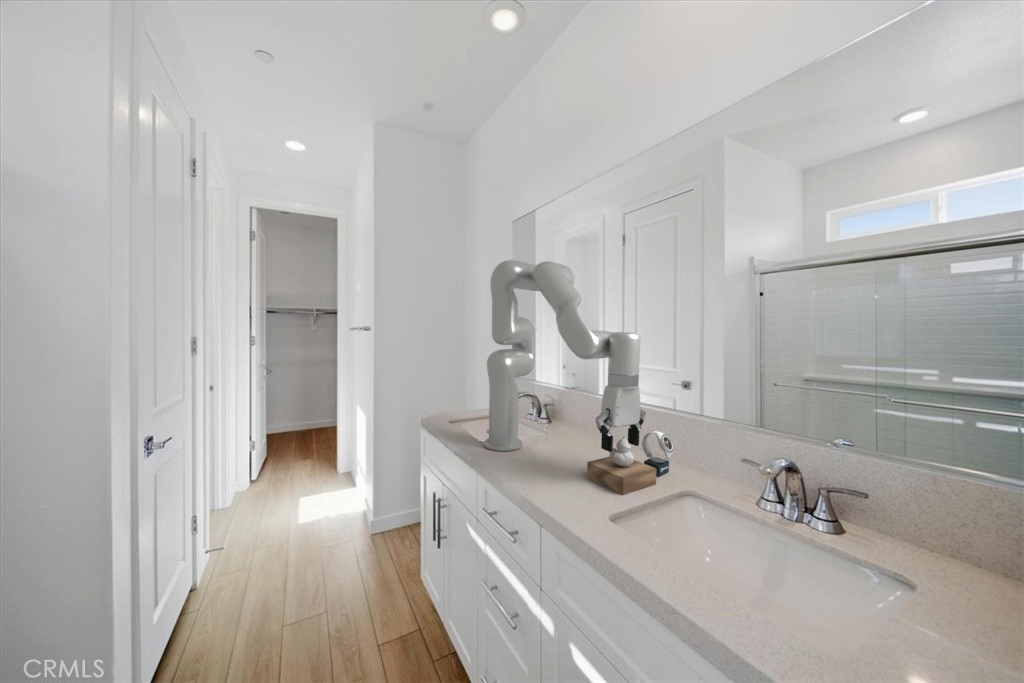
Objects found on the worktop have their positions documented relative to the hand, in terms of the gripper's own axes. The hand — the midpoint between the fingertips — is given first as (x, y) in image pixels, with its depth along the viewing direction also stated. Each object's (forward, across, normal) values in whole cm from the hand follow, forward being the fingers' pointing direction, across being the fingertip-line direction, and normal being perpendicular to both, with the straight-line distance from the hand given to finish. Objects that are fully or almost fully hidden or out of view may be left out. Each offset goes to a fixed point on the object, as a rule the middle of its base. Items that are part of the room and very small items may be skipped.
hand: (620, 447), depth 93 cm
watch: (+9, -13, +2) cm, 16 cm away
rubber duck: (+5, 0, 0) cm, 5 cm away
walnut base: (+8, 0, 0) cm, 9 cm away
